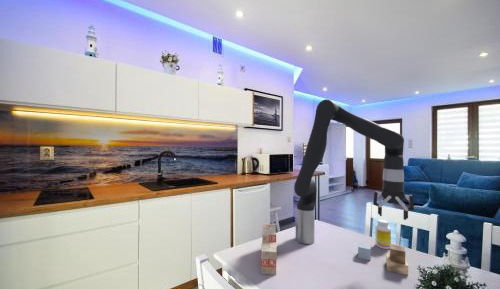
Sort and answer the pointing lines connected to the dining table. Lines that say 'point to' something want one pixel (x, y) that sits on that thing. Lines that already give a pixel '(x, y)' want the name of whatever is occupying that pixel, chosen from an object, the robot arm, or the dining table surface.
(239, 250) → the dining table surface
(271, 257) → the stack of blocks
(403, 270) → the oak base
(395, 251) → the walnut cube
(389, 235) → the supplement bottle
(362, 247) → the slate cube
